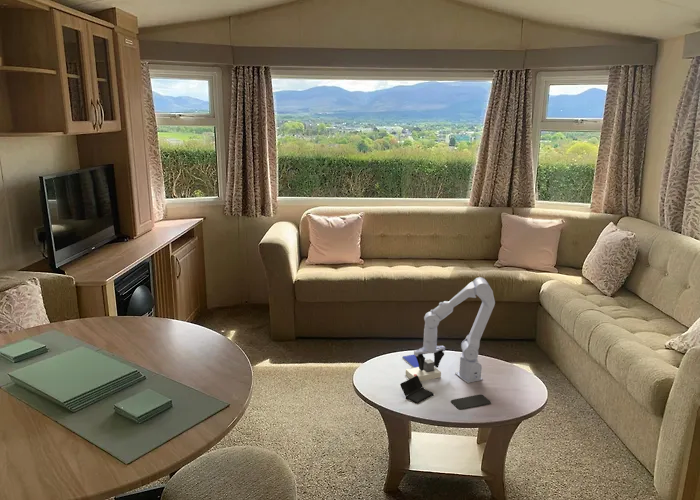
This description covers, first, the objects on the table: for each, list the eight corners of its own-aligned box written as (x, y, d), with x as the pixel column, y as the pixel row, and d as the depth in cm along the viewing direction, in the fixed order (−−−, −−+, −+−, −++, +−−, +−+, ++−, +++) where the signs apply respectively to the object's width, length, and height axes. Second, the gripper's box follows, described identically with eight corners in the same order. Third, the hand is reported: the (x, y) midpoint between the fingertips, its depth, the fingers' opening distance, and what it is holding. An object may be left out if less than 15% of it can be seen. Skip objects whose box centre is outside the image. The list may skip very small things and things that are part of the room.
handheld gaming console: (422, 402, 212) (411, 378, 215) (408, 408, 216) (397, 384, 219) (435, 394, 222) (425, 371, 224) (422, 400, 225) (411, 377, 228)
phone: (449, 400, 216) (481, 393, 221) (449, 402, 217) (481, 395, 222) (459, 409, 210) (492, 402, 215) (459, 411, 210) (492, 404, 215)
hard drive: (402, 356, 253) (415, 367, 242) (417, 353, 256) (431, 364, 245) (402, 359, 254) (414, 370, 243) (417, 356, 257) (430, 368, 246)
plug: (433, 374, 238) (434, 362, 236) (427, 376, 236) (427, 363, 235) (429, 371, 241) (430, 359, 239) (422, 372, 239) (423, 360, 238)
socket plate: (440, 377, 236) (441, 371, 235) (414, 382, 231) (415, 376, 230) (430, 369, 243) (431, 363, 242) (405, 374, 238) (405, 368, 237)
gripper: (439, 333, 241) (437, 361, 244) (411, 338, 235) (409, 367, 238) (448, 339, 235) (446, 368, 238) (419, 344, 229) (417, 374, 232)
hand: (428, 368), depth 238 cm, fingers open, 7 cm apart
